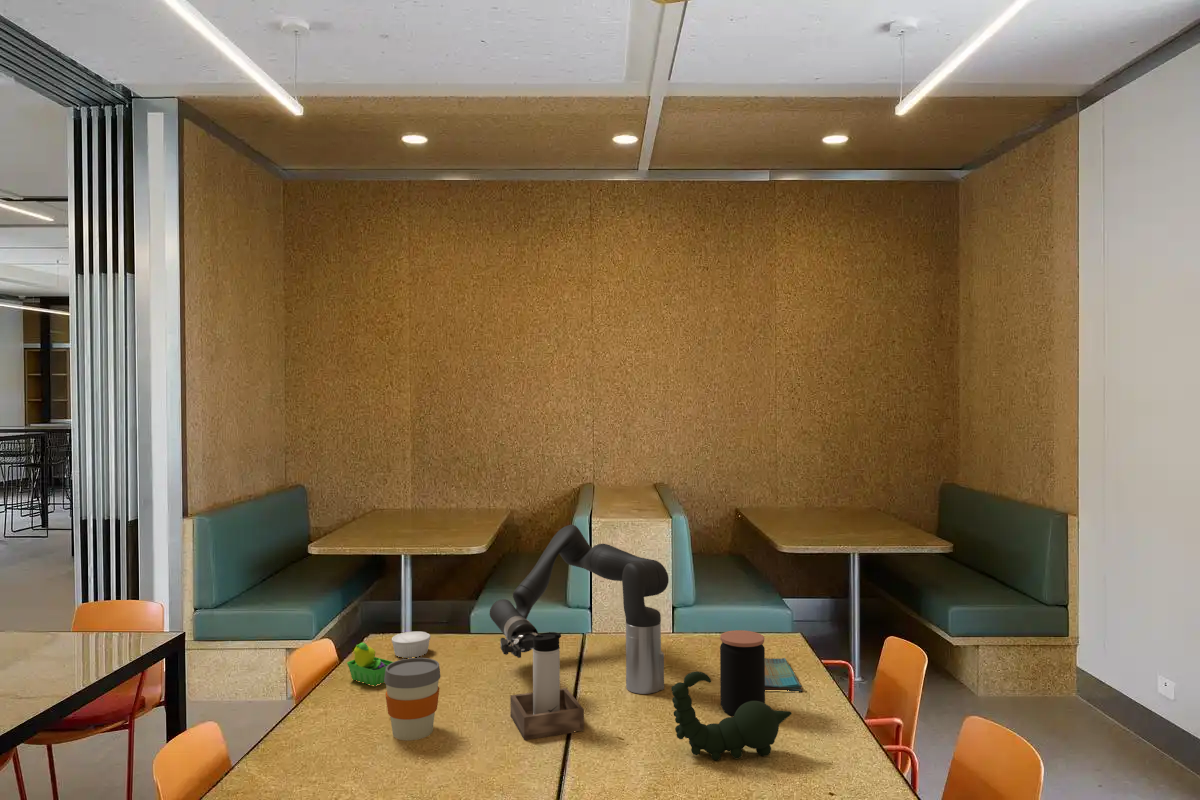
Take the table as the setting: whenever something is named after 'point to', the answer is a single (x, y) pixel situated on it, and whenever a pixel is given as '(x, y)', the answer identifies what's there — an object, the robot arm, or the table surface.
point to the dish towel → (780, 676)
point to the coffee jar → (741, 669)
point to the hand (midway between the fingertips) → (536, 651)
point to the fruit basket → (367, 665)
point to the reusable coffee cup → (412, 696)
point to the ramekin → (411, 644)
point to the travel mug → (546, 673)
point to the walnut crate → (546, 716)
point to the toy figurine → (725, 724)
